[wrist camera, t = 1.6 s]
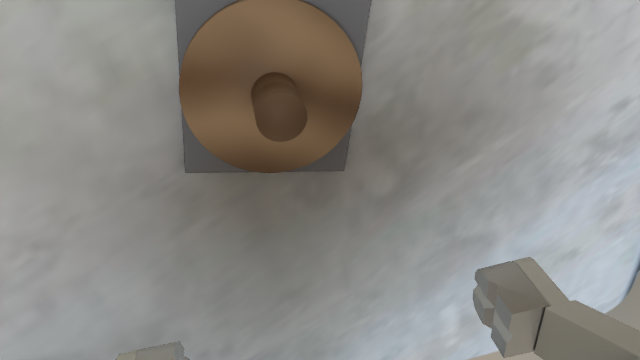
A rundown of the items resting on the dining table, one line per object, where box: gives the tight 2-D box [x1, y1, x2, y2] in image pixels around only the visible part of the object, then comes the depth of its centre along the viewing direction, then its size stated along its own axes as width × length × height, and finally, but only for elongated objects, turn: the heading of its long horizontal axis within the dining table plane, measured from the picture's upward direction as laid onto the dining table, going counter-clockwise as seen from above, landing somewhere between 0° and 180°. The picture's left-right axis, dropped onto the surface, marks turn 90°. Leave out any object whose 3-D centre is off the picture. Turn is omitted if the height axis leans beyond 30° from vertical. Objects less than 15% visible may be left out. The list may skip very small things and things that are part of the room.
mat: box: [175, 0, 371, 173], centre depth 27 cm, size 12×11×1 cm
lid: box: [179, 0, 362, 173], centre depth 25 cm, size 11×11×4 cm
